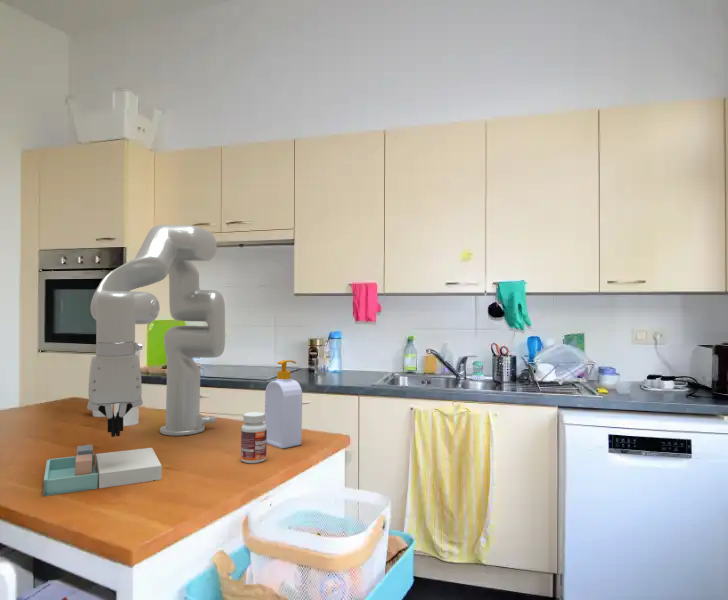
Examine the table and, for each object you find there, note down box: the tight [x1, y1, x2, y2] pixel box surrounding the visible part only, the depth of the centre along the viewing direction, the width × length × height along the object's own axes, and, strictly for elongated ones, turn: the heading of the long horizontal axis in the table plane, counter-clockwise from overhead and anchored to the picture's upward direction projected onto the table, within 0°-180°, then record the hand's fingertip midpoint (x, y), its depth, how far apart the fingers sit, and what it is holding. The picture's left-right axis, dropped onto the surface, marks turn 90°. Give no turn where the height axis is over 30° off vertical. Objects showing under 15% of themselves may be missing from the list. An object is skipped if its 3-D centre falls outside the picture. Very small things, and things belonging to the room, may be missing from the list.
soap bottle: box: [264, 359, 303, 450], centre depth 142 cm, size 9×7×23 cm
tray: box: [42, 453, 98, 497], centre depth 110 cm, size 9×16×3 cm, turn 30°
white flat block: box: [95, 447, 163, 489], centre depth 115 cm, size 12×16×3 cm
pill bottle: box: [240, 411, 267, 464], centre depth 126 cm, size 6×6×11 cm
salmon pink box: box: [75, 454, 92, 476], centre depth 107 cm, size 5×5×3 cm
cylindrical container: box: [113, 350, 141, 427], centre depth 163 cm, size 7×7×25 cm
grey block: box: [76, 444, 94, 473], centre depth 115 cm, size 5×5×3 cm
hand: (115, 434), depth 111 cm, fingers closed
